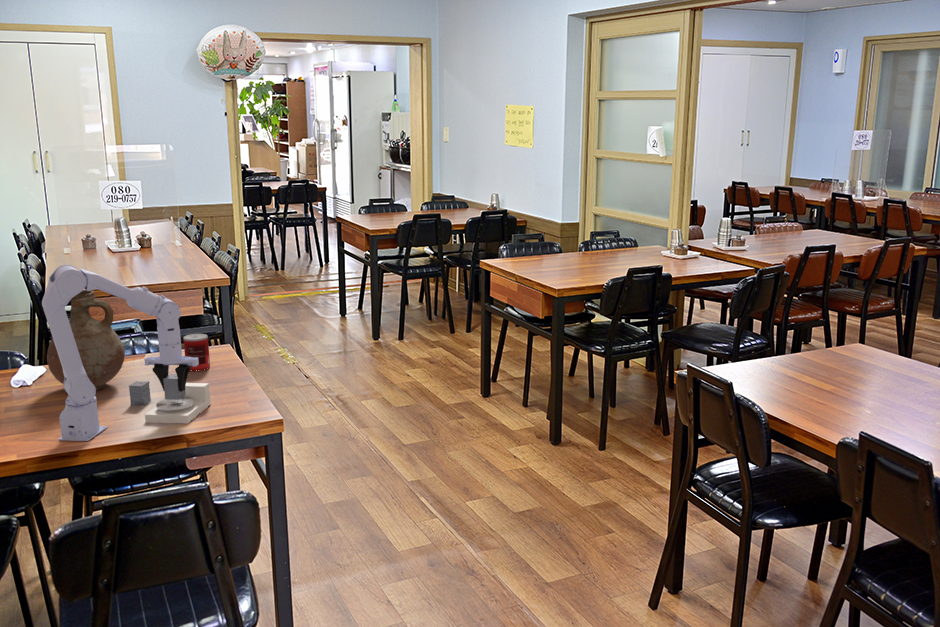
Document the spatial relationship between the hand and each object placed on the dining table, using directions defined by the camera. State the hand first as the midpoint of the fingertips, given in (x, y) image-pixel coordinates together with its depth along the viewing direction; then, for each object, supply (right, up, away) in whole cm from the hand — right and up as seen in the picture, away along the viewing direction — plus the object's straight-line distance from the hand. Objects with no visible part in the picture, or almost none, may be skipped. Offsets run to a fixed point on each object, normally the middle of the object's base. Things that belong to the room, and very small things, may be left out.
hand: (174, 390), depth 219 cm
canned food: (-9, +3, +46) cm, 47 cm away
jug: (-36, -2, +26) cm, 45 cm away
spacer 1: (-14, -5, +12) cm, 19 cm away
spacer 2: (0, -2, +1) cm, 2 cm away
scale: (0, -7, +3) cm, 7 cm away
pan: (0, -4, +1) cm, 4 cm away
